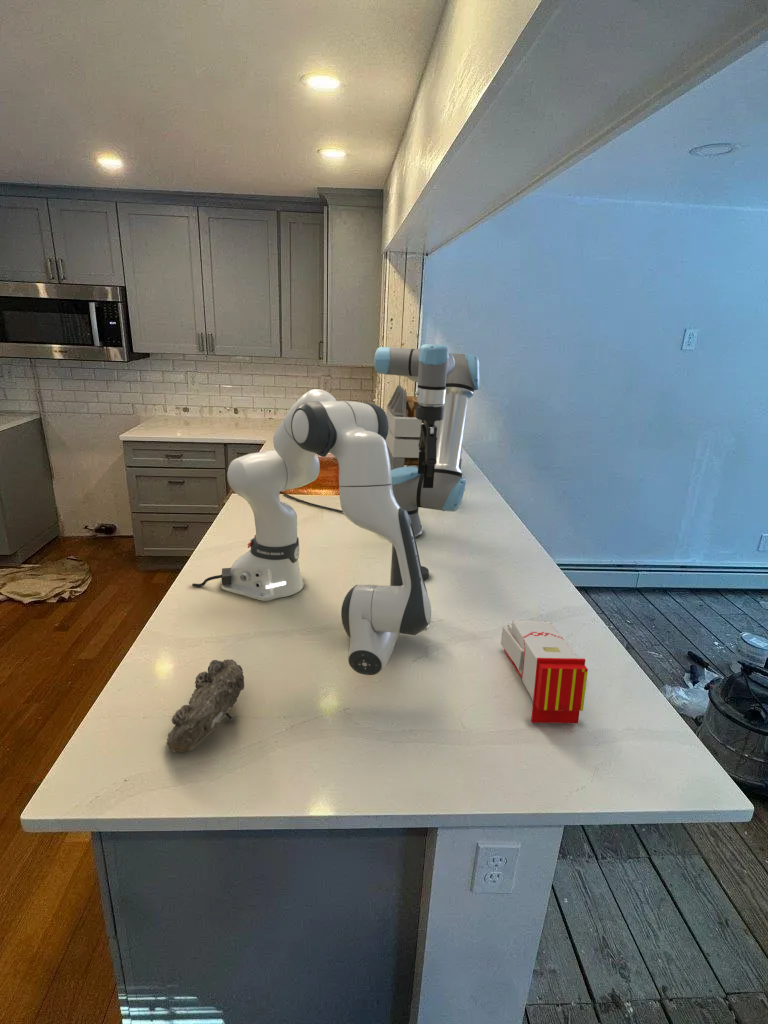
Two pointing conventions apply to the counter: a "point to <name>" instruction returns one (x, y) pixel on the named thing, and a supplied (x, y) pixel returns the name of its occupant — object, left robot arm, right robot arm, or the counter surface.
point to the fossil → (206, 705)
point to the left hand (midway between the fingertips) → (394, 597)
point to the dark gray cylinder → (395, 570)
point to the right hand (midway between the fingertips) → (425, 480)
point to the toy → (547, 670)
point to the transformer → (404, 430)
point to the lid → (425, 572)
